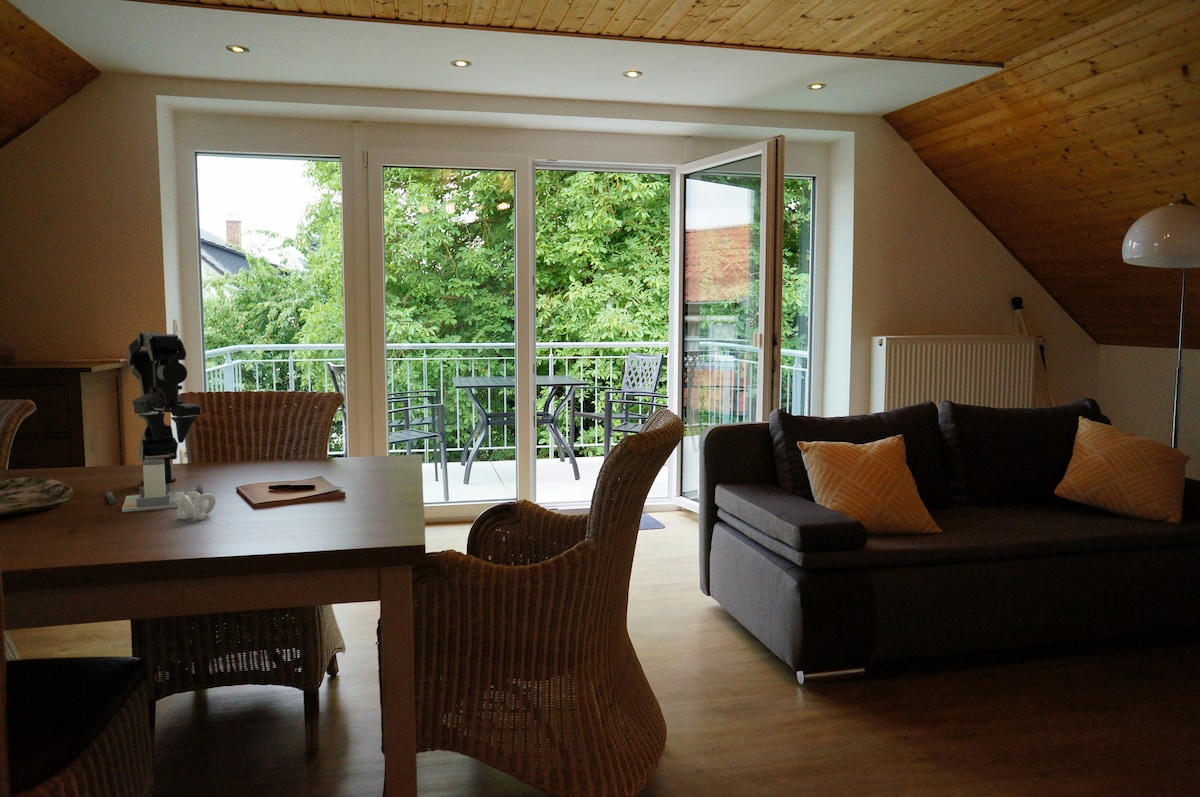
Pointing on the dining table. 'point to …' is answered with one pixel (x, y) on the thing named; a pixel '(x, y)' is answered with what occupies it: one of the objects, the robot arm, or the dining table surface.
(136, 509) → the panel
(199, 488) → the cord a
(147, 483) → the grey upright block
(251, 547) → the dining table surface
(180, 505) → the knot
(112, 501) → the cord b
